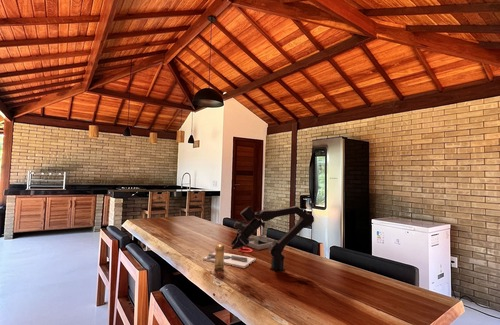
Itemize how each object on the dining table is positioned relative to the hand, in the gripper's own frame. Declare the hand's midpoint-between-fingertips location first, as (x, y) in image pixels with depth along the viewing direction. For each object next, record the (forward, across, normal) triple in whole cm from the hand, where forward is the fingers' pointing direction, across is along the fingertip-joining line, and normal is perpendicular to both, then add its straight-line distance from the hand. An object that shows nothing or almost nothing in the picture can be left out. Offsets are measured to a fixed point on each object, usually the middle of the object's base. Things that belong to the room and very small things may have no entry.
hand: (231, 246), depth 151 cm
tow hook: (+1, -36, +17) cm, 40 cm away
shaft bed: (+9, -15, +9) cm, 20 cm away
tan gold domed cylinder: (+14, 0, +4) cm, 14 cm away
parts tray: (-8, -54, +25) cm, 60 cm away
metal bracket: (-8, -54, +25) cm, 60 cm away
